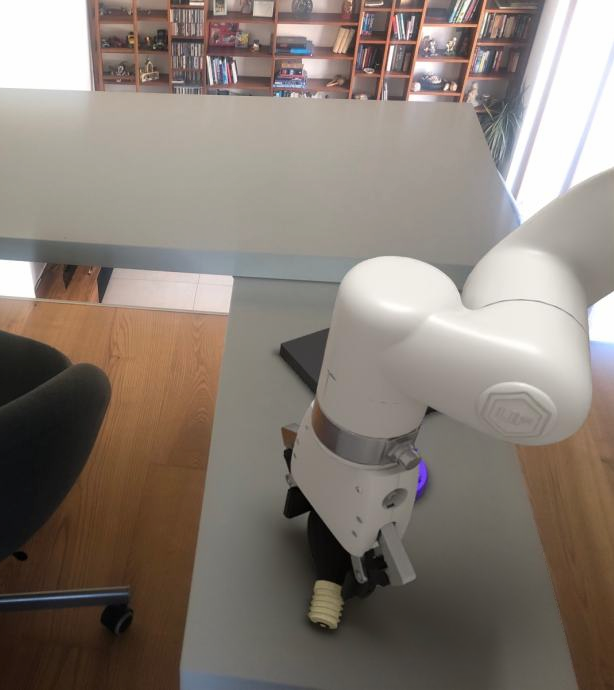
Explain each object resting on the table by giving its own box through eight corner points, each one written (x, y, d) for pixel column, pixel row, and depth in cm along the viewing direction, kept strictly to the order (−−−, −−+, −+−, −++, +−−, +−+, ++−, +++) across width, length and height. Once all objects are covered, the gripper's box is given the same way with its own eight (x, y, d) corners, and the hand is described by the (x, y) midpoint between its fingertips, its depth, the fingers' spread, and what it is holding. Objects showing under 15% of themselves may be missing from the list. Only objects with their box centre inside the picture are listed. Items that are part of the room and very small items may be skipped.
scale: (460, 400, 80) (469, 378, 78) (357, 441, 76) (363, 419, 73) (373, 322, 91) (378, 301, 89) (279, 353, 87) (282, 332, 84)
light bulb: (335, 613, 55) (365, 479, 61) (268, 604, 59) (301, 481, 66) (377, 647, 58) (401, 517, 64) (309, 636, 62) (338, 516, 69)
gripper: (492, 488, 46) (425, 618, 57) (337, 333, 58) (307, 466, 69) (400, 528, 43) (349, 655, 55) (259, 358, 55) (241, 491, 67)
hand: (326, 549), depth 62 cm, fingers closed on light bulb, 8 cm apart
